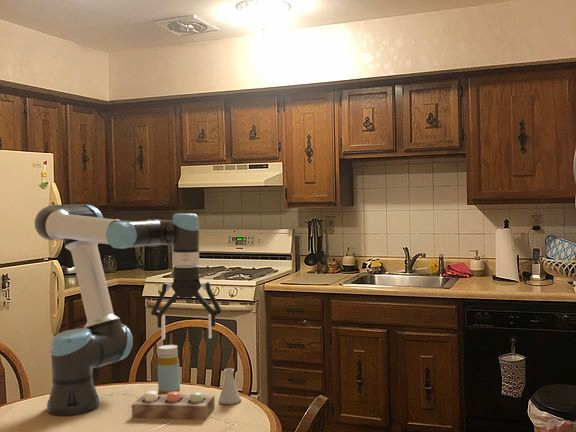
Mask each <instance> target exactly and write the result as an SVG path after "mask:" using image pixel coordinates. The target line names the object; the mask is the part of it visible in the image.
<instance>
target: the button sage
mask: <svg viewBox="0 0 576 432" xmlns="http://www.w3.org/2000/svg"><path fill="white" fill-rule="evenodd" d="M189 395H190V403H202V402H203V395H204V393H203V392H202V391H194V392H191V393H189Z"/></svg>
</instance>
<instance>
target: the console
mask: <svg viewBox="0 0 576 432" xmlns="http://www.w3.org/2000/svg"><path fill="white" fill-rule="evenodd" d="M215 402H216V401H215V395H214V394H213V395H212V394H203V402H202V403H190V394H180V402H167V394H160V393H158V400H157V401H156V402H145V395H144V394H143V395H142V396H140V397H139V398H137V399H136V400H135V401H134V402H133V403H131V413H132V414H131V417H132V418H131V419H154V420H157V419H158V420H160V419H161V420H162V419H163V420H187V421H188V420H189V421H190V420H193V421H206V420H207V419H208V418H209V416H210V415H211V414H212V413H213V411H214V410H215V409H216V403H215Z"/></svg>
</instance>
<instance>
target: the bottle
mask: <svg viewBox="0 0 576 432" xmlns="http://www.w3.org/2000/svg"><path fill="white" fill-rule="evenodd" d="M178 353H179V352H178V345H176V344H164V345H159V347H158V359H157V387H158V391H157V392H158V394H167V393H169V392H174V391H177V392H180V390H181V389H180V388H181V379H180V376H181V375H180V374H181V373H180V371H181V370H180V359H179V356H178Z"/></svg>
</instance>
